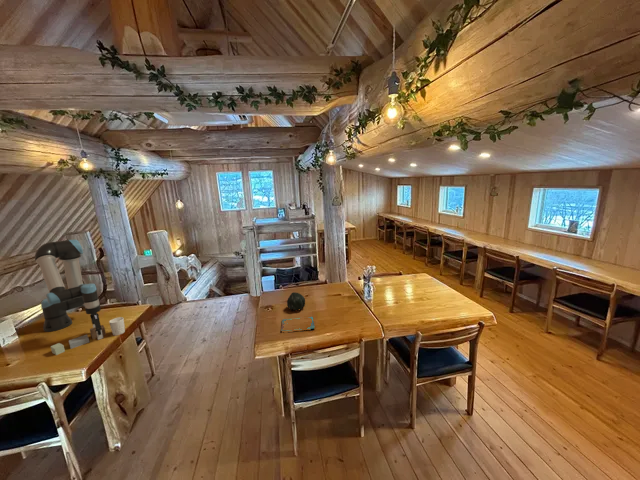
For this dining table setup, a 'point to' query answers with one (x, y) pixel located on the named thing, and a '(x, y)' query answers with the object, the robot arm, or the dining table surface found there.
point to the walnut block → (94, 334)
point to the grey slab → (78, 341)
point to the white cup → (117, 325)
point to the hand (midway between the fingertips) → (98, 335)
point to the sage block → (57, 349)
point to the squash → (296, 301)
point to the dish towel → (299, 328)
